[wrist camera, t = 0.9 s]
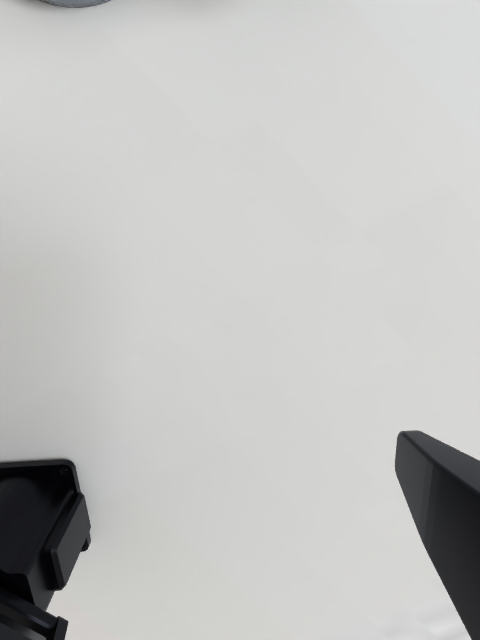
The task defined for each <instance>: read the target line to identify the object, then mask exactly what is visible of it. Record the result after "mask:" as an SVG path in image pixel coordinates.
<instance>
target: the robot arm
mask: <svg viewBox="0 0 480 640" xmlns="http://www.w3.org/2000/svg"><path fill="white" fill-rule="evenodd" d="M63 468H66V469H68V471H66V470H64V469H63ZM395 471H396V475H397V478H398V481H399V483H400V486H401V488H402V491H403V493H404V496H405V499H406V501H407V504H408V506H409V509H410V512H411V514H412V517H413V519H414V522H415V525H416V527H417V530H418V532H419V535H420V537H421V540H422V542H423V544H424V546H425V549H426V551H427V553H428V555H429V557H430V559H431V561H432V563H433V565H434V567H435V569H436V571H437V573H438V575H439V576H440V578H441V580H442V582H443V584H444V586H445V588H446V590H447V592H448V594H449V596H450V598H451V600H452V602H453V604H454V606H455V608H456V610H457V612H458V614H459V616H460V618H461V620H462V622H463V624H464V626H465V628H466V630H467V631H468V633H469V635H470V637H471V639H472V640H480V461H479V460H477V459H475V458H473V457H471V456H469V455H467V454H465V453H463V452H461V451H459V450H457V449H455V448H453V447H451V446H449V445H447V444H445V443H443V442H441V441H439V440H437V439H435V438H433V437H431V436H429V435H427V434H425V433H423V432H421V431H417V430H415V431H401V432H400V433H399V434H398V437H397V446H396V457H395ZM90 528H91V525H90V521H89V516H88V511H87V506H86V502H85V497H84V495H83V494H82V492H81V491H80V486H79V482H78V477H77V472H76V467H75V465H74V463H73V462H71V461H69V460H55V461H38V462H20V463H3V464H0V640H65V635H66V631H67V626H68V621H67V620H65V619H63V618H62V617H60V616H58V617H55V616H53V615H52V614H50V613H48V612H46V610H47V607H48V605H49V603H50V601H51V599H52V596H53V594H54V592H55V591H58V590H62V589H63V588H64V587H65V586H66V584H67V582H68V579H69V577H70V575H71V572H72V570H73V568H74V565H75V563H76V561H77V558H78V556H79V554H80V552H82V551H86V550H87V549H88V547H89V545H90V543H91V538H90V533H89V531H90Z"/></svg>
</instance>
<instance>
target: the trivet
mask: <svg viewBox="0 0 480 640" xmlns="http://www.w3.org/2000/svg"><path fill="white" fill-rule="evenodd" d="M41 1H44V2H47V3H50V4H53V5H58V6H64V7H88V6H95V5H98V4H102V3H105V2H108V1H110V0H41Z"/></svg>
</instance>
